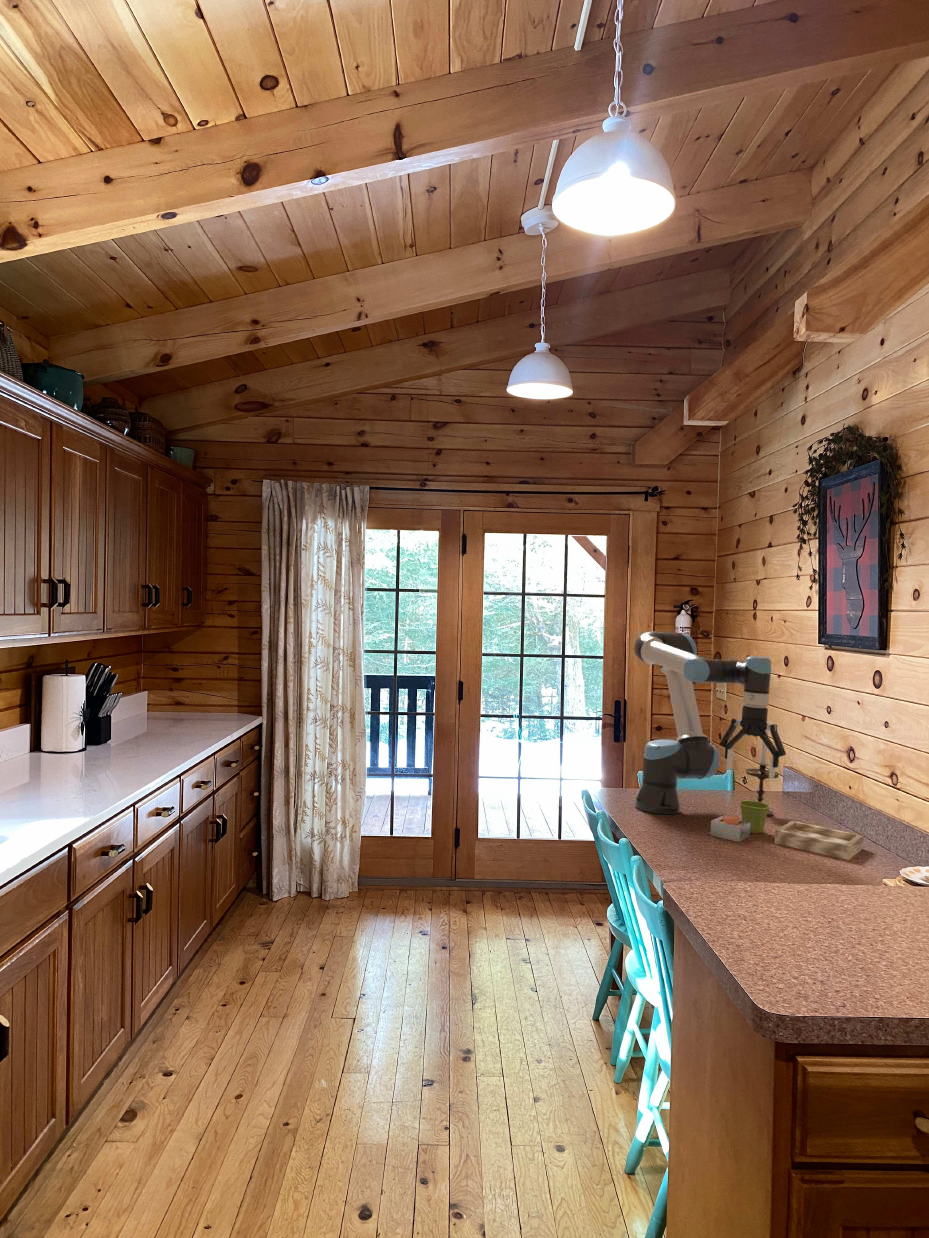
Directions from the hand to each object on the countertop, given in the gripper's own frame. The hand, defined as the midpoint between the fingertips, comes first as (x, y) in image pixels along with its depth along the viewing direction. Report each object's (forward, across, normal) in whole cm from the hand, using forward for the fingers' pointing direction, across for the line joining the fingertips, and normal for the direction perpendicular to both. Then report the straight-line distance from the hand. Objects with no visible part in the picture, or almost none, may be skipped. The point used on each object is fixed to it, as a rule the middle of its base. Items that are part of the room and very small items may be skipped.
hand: (750, 773), depth 263 cm
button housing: (+19, -2, -8) cm, 20 cm away
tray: (+19, +21, +5) cm, 28 cm away
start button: (+16, -2, -8) cm, 18 cm away
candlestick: (+19, -8, +31) cm, 37 cm away
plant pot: (+19, +1, +4) cm, 19 cm away
